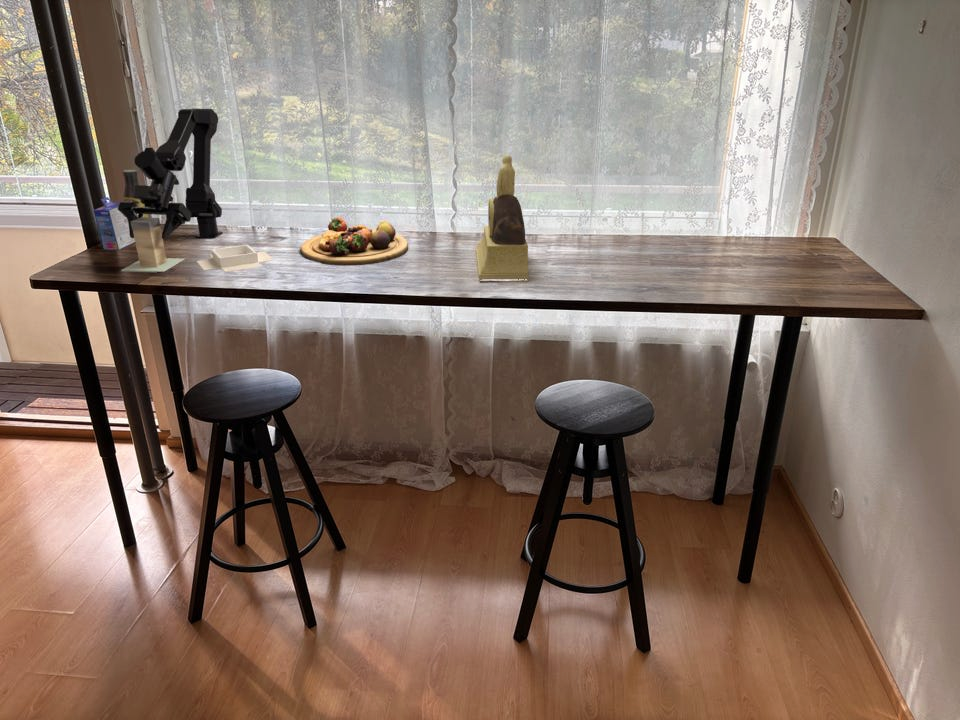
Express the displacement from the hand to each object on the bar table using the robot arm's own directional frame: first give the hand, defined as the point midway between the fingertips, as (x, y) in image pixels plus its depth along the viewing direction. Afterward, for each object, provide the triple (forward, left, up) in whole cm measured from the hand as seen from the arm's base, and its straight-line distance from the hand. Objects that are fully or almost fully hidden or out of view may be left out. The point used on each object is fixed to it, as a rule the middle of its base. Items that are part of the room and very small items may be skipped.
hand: (147, 238), depth 192 cm
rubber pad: (-1, 0, -8) cm, 8 cm away
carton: (-7, +21, -8) cm, 23 cm away
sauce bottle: (-35, -23, -8) cm, 43 cm away
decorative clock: (-10, +96, -8) cm, 97 cm away
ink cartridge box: (-20, -21, -8) cm, 30 cm away
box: (-1, 0, -7) cm, 8 cm away
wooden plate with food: (-22, +52, -9) cm, 57 cm away
